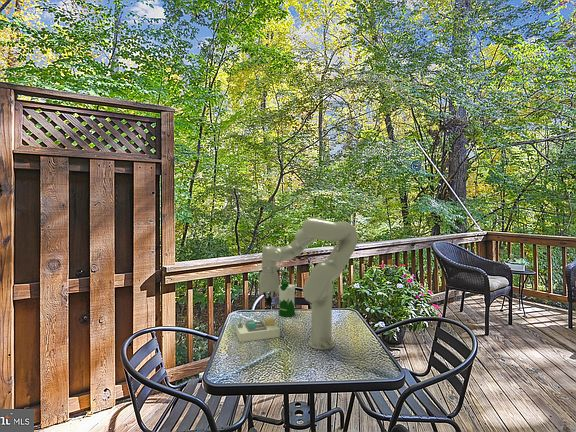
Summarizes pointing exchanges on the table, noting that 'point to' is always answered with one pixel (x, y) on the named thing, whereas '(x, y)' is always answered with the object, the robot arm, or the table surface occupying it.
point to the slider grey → (249, 321)
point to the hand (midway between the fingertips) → (268, 304)
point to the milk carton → (286, 300)
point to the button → (269, 321)
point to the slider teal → (251, 325)
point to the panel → (256, 331)
